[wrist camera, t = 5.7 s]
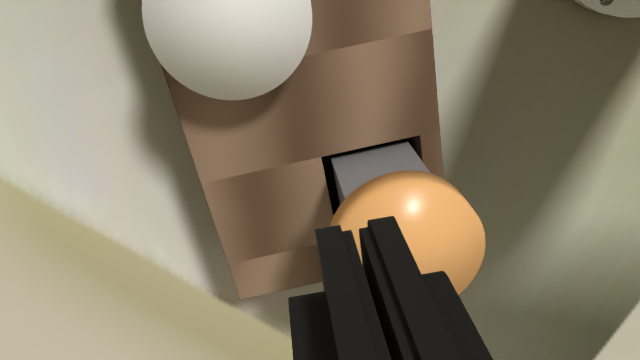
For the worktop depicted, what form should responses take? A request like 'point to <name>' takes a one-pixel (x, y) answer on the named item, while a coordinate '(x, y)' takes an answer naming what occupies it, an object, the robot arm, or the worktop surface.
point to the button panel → (311, 134)
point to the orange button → (411, 209)
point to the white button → (228, 43)
